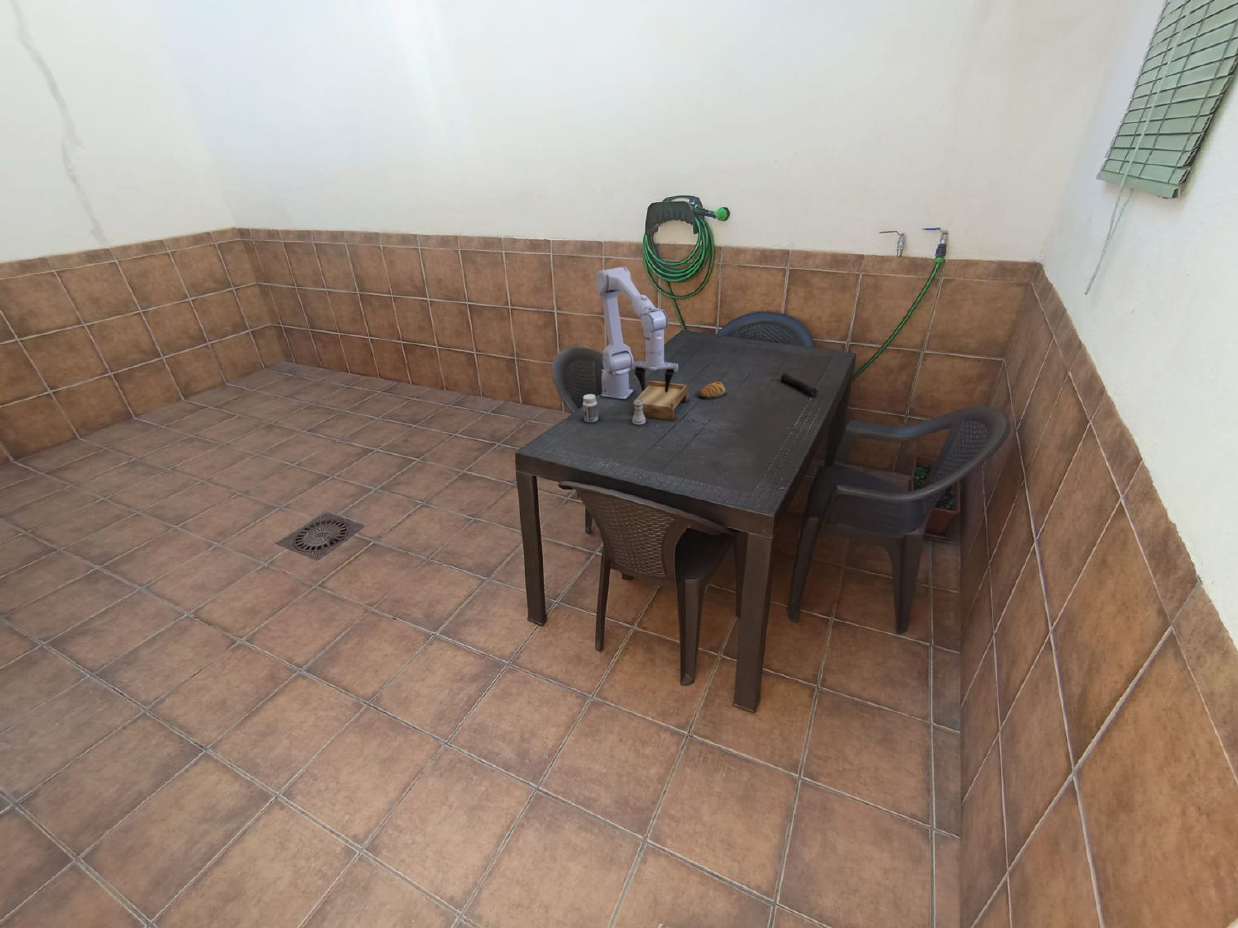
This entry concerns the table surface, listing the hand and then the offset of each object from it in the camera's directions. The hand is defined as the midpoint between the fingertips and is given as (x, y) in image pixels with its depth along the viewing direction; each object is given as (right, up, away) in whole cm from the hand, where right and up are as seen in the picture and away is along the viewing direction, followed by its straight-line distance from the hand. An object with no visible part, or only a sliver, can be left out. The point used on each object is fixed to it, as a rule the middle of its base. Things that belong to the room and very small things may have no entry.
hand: (655, 390), depth 182 cm
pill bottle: (-21, -9, +5) cm, 24 cm away
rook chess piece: (-5, -10, +2) cm, 12 cm away
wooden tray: (+3, -4, +11) cm, 12 cm away
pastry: (+22, +1, +19) cm, 29 cm away
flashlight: (+53, +3, +20) cm, 57 cm away
